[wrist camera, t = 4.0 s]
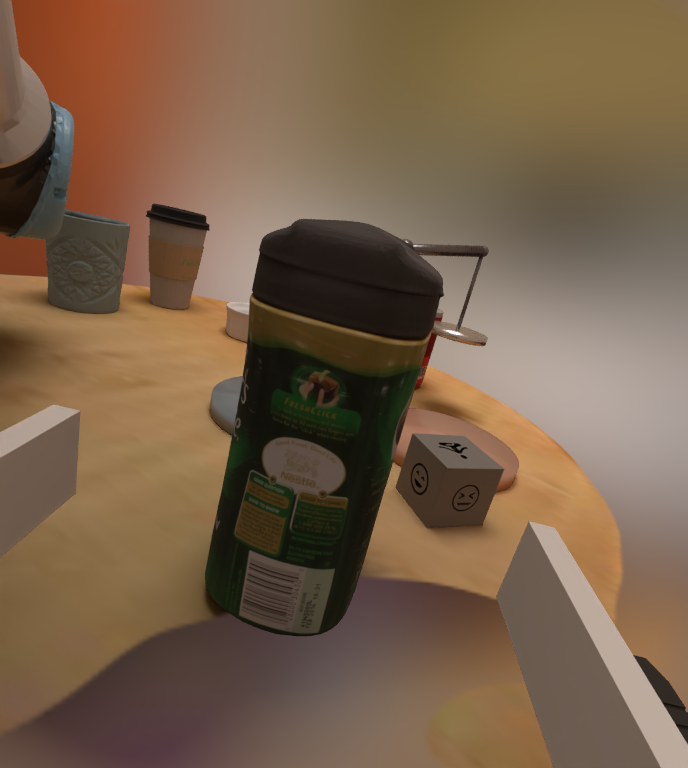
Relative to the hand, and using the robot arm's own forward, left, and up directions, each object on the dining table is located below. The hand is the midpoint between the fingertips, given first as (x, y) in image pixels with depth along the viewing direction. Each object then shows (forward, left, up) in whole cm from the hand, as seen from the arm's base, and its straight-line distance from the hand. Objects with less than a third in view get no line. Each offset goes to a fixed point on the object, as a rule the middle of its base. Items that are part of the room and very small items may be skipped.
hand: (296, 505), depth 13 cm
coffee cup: (-30, +62, -11) cm, 70 cm away
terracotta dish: (+12, +30, -10) cm, 34 cm away
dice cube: (+10, +20, -11) cm, 25 cm away
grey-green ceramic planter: (-37, +50, -11) cm, 63 cm away
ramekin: (-14, +55, -11) cm, 58 cm away
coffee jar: (0, +9, -11) cm, 14 cm away
